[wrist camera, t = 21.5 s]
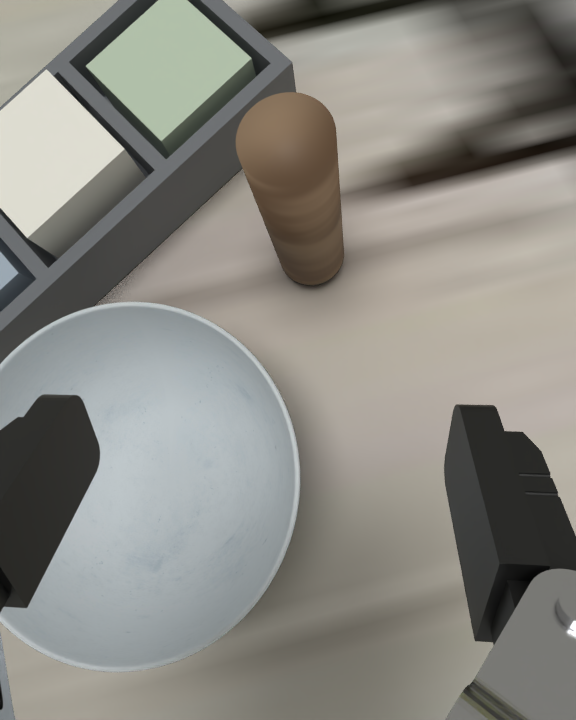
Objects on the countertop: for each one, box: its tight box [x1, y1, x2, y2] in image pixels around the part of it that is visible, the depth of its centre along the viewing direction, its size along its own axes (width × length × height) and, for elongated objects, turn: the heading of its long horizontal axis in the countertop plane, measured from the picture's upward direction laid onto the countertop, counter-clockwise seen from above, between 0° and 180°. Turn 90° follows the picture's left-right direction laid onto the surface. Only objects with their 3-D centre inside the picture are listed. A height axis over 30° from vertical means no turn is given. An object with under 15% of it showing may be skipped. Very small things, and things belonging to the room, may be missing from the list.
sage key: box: [86, 0, 256, 159], centre depth 30 cm, size 6×6×4 cm
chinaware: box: [0, 302, 300, 672], centre depth 25 cm, size 15×15×8 cm
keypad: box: [0, 0, 296, 364], centre depth 30 cm, size 10×26×4 cm, turn 133°
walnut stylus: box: [236, 92, 344, 285], centre depth 24 cm, size 4×4×12 cm
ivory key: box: [0, 69, 146, 259], centre depth 28 cm, size 6×6×4 cm
